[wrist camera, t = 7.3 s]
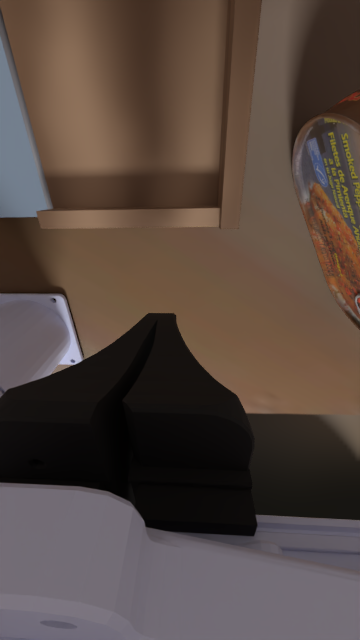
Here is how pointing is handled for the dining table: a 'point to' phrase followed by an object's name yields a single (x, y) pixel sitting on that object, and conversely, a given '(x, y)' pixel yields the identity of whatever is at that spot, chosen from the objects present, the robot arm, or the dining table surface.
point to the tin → (333, 196)
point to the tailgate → (17, 145)
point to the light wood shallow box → (138, 107)
